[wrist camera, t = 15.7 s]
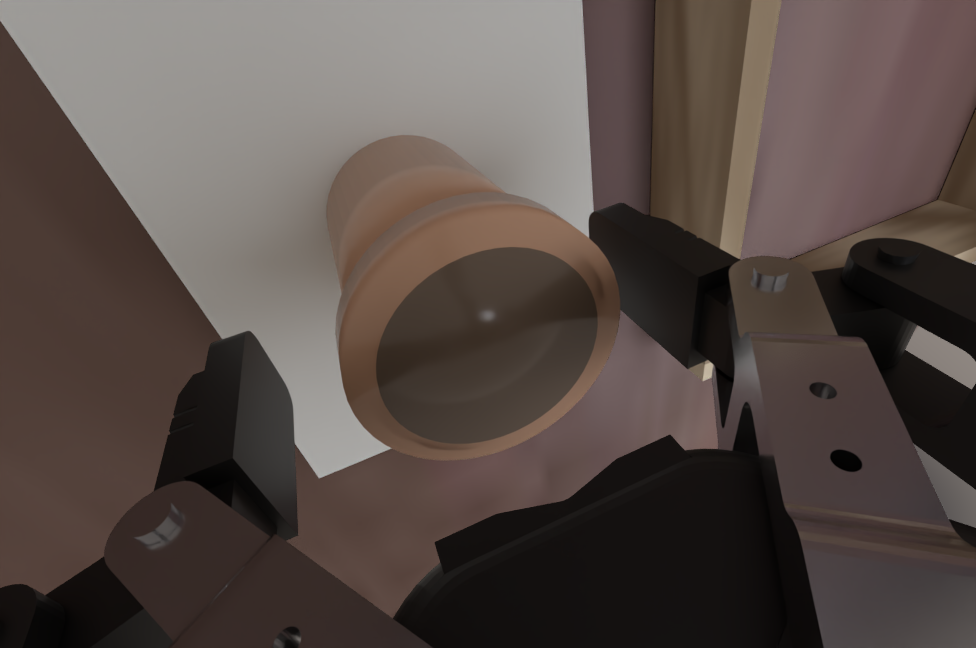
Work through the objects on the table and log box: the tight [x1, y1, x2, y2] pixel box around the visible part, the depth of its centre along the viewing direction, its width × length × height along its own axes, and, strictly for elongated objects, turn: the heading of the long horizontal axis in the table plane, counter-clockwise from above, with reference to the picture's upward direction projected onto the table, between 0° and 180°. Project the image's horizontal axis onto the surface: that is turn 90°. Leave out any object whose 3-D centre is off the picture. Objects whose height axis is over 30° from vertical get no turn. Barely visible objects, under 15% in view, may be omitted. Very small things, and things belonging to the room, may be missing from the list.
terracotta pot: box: [326, 135, 620, 460], centre depth 12 cm, size 6×6×8 cm
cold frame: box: [650, 0, 976, 381], centre depth 17 cm, size 20×20×7 cm
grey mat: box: [0, 0, 594, 478], centre depth 16 cm, size 14×20×1 cm
